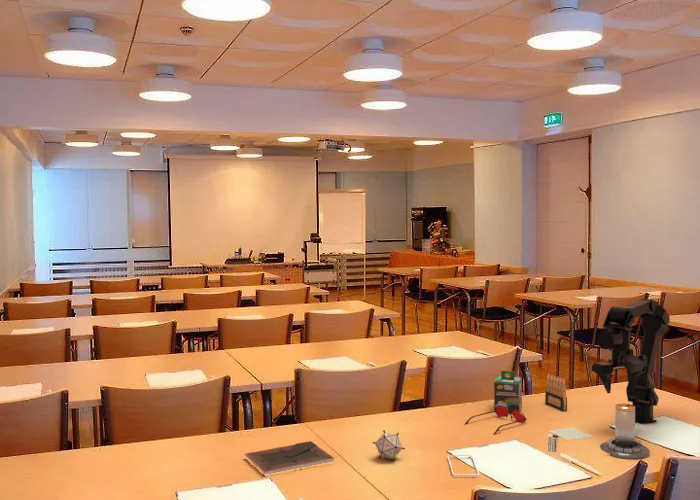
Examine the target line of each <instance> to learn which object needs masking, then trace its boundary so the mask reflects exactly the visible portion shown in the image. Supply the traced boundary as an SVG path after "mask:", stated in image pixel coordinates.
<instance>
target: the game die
mask: <svg viewBox="0 0 700 500" xmlns="http://www.w3.org/2000/svg"><path fill="white" fill-rule="evenodd" d="M382 432H383V433H382V434H381V436H380V437H379V438H377V440H376V441H373V442H371V443H372V444H373V445H374V444H375V447H376V449H377V451H378V455H379V456H378V459H381V458H385V459H390V460H392V462H395V459H396V457H397V456H398V454H399V453H400V452H401V451H402V450H405V449H406V448H405V447H403V445H402V444H401V441H400V439H399V435H400V432H397V433H390V432H386V430H385V429H383V430H382Z"/></svg>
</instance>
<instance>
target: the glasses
mask: <svg viewBox="0 0 700 500" xmlns="http://www.w3.org/2000/svg"><path fill="white" fill-rule="evenodd" d="M496 408H497V410H495V411H494V410H492V411H487V412H484V413H480V414H477V415H472V416H471V417H470V418H468V419H467V421H466V422H465V423H464V425H465V426H466V425H467V424H468V423H469V422H470V420H472V419H473V418H475V417H479V416H483V415H487V414H492V413H495V414H496V417H497V418H503V417H505V418H507V417H509V413H508V411H509V409H510V408H508V409H507V407H505V408H504V407H503V406H499V405H497V407H496ZM511 410H513V409H511ZM510 418H511V420H513V419H514V420H515V421H512V422H509V423H505V424H502V425H500V426H498V428H496V430H495V431H494V432H493V436H495V435H496V434H497V432H498V431H500V429H501V428H503V427H504V426H508V425H512V424H516V423H521V424H524V423H526V421H527V420H528V418H527V417H526V416H525V414H524V413H523V412H522V411H517V410H514V411H513V412H512V413H511V415H510Z"/></svg>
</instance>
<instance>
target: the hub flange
mask: <svg viewBox="0 0 700 500" xmlns="http://www.w3.org/2000/svg"><path fill="white" fill-rule="evenodd" d="M599 448H600V450H601V451H603V452H604V453H606V454H608V456H610V457H613V458H618V459H623V460H642V459H646V458H648V457H649V456H650V454H651V451H650V449H649V448H648V447H646V446H645V445H643V444H642V443H641V442H640V441H638V440H635V447H634V448H623V447H618V446H615V437H614V438H609V439H608V440H607V441H605V442H602V443H600V445H599Z"/></svg>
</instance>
